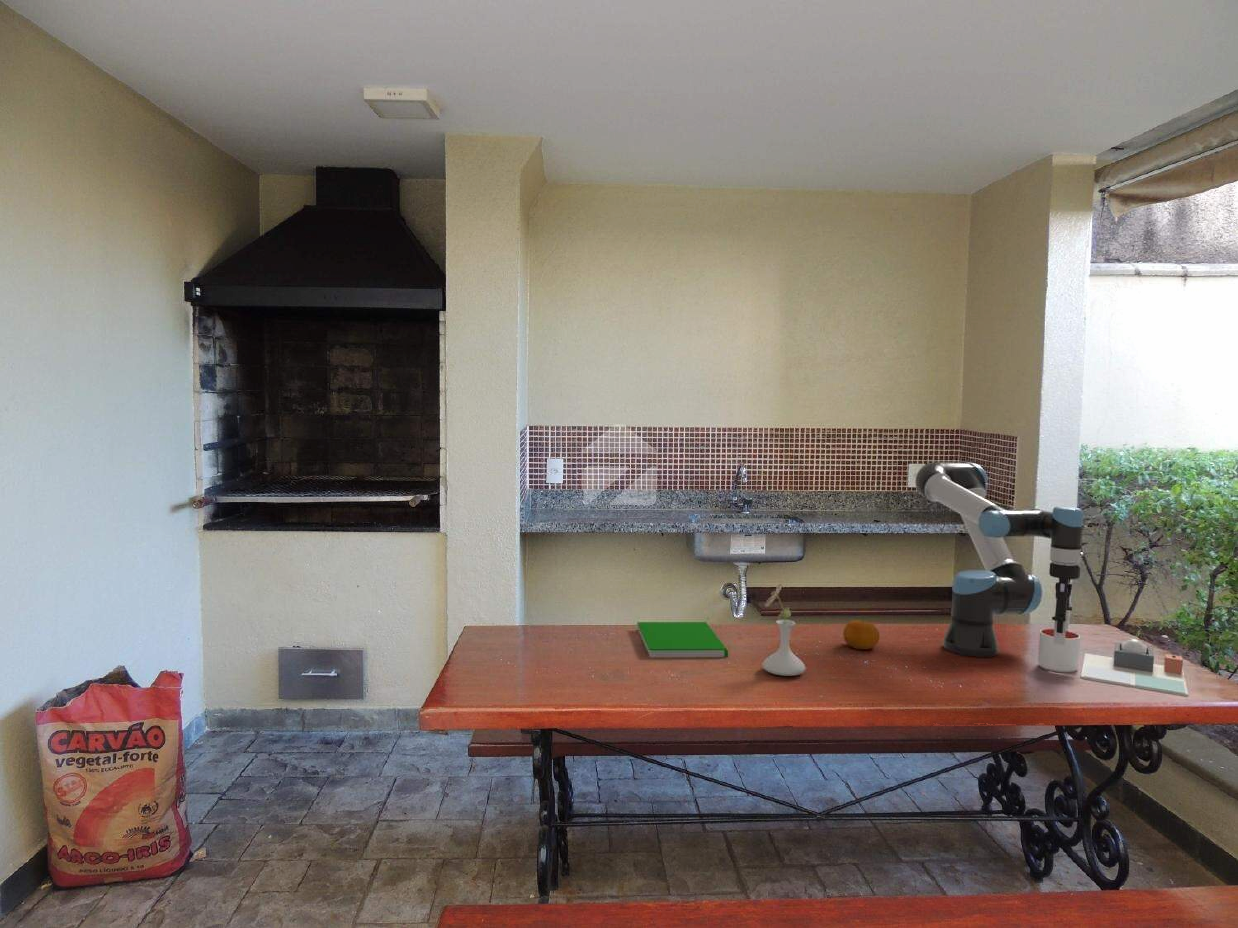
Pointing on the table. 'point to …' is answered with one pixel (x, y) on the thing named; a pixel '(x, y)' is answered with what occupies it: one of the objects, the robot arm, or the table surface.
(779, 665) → the flower in vase
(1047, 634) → the cup
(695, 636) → the book
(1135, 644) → the dome button
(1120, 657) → the dome housing
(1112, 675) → the game board
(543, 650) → the table surface
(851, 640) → the fruit
